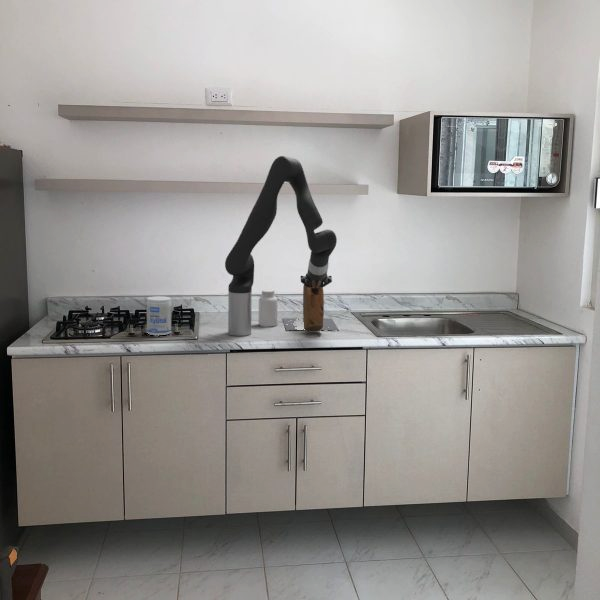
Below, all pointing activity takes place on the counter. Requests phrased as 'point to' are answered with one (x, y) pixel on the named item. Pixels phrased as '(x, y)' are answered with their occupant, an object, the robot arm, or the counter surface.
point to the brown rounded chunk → (313, 309)
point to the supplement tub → (158, 315)
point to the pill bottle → (268, 309)
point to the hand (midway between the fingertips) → (314, 291)
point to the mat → (326, 323)
